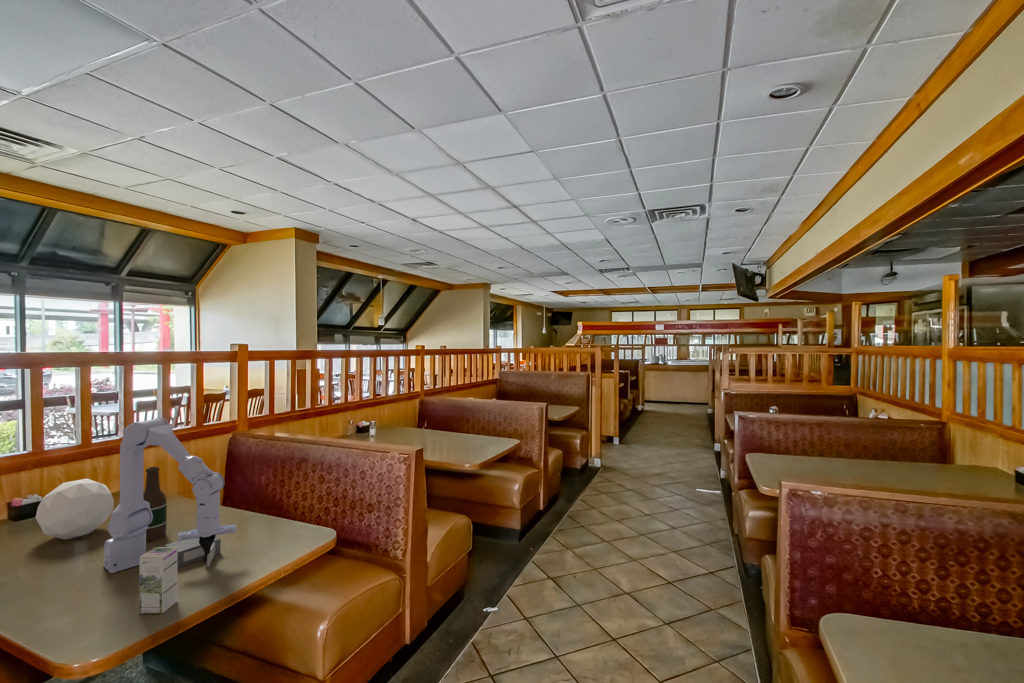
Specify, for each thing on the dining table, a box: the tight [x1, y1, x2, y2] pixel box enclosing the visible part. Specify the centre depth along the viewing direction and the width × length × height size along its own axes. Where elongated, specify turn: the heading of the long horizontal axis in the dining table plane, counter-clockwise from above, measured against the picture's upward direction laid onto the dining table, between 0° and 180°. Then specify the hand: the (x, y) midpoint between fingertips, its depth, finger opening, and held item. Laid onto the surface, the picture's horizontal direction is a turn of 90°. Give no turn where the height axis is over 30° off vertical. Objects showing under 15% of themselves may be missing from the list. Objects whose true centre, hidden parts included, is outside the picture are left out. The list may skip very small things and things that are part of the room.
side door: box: [206, 542, 216, 568], centre depth 138 cm, size 9×1×4 cm, turn 25°
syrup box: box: [139, 546, 178, 615], centre depth 114 cm, size 6×6×14 cm
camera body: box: [164, 535, 221, 568], centre depth 141 cm, size 13×9×5 cm
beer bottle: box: [143, 466, 168, 543], centre depth 155 cm, size 8×8×24 cm
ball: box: [35, 478, 115, 541], centre depth 156 cm, size 19×20×20 cm
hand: (207, 560), depth 136 cm, fingers closed, pressing on side door
